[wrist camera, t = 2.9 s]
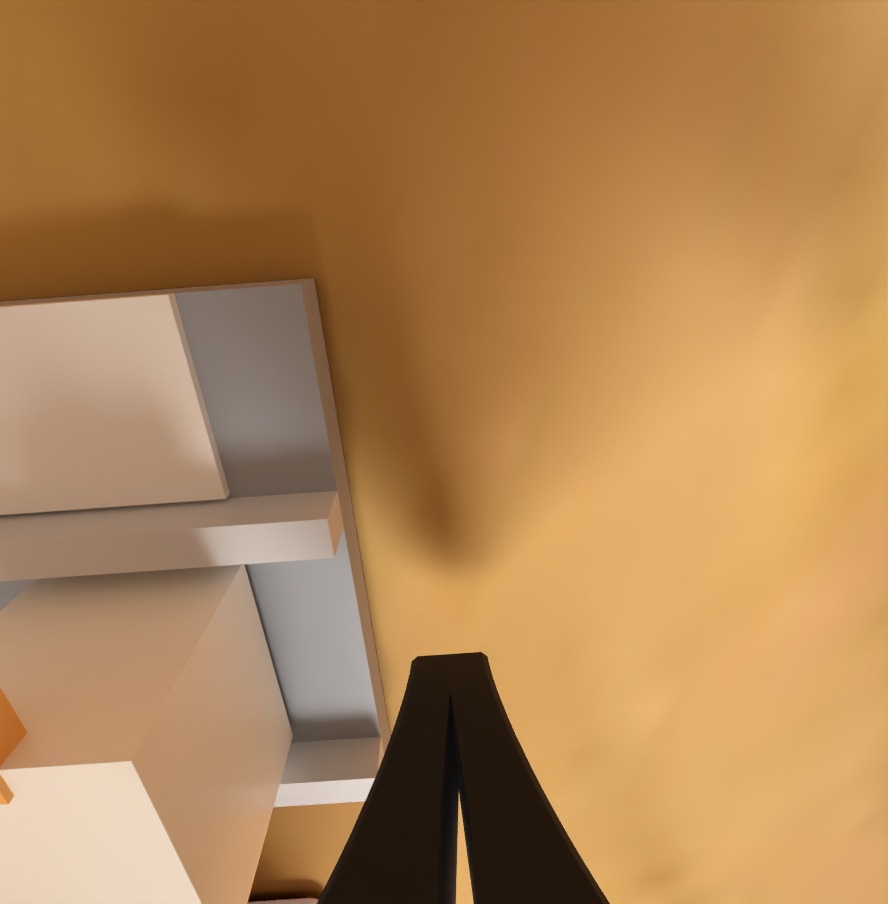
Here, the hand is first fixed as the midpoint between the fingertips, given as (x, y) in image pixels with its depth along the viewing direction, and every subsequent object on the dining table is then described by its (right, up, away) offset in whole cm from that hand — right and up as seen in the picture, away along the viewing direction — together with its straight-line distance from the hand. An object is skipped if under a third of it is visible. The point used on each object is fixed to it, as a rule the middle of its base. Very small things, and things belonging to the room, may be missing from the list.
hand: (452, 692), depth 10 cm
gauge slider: (-6, +1, +1) cm, 6 cm away
